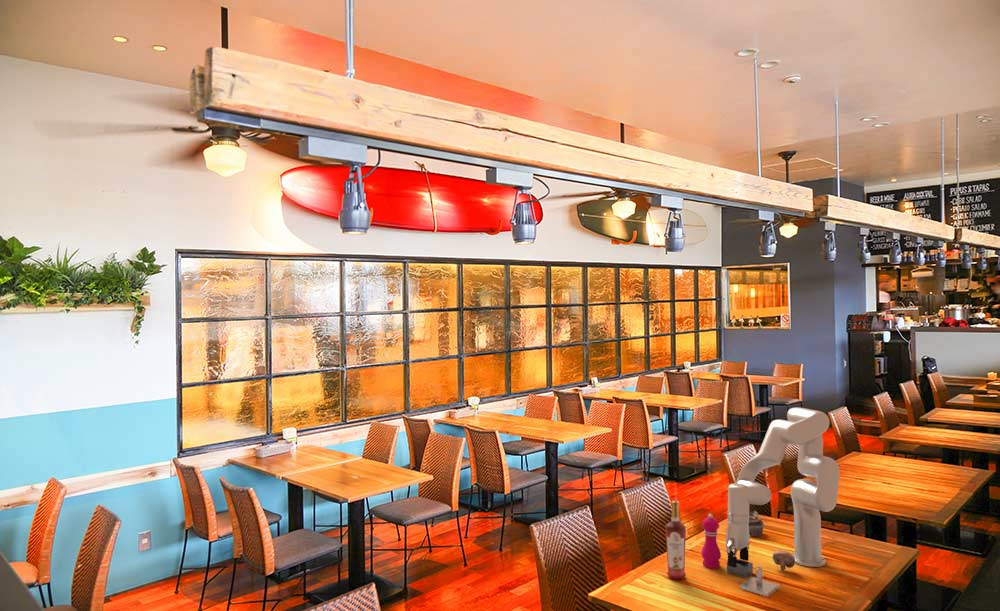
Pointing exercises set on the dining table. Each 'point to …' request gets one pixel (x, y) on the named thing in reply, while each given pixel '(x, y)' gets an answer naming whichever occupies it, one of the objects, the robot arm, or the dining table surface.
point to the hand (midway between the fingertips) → (738, 563)
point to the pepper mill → (711, 543)
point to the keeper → (759, 584)
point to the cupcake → (755, 524)
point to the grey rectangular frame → (741, 568)
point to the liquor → (675, 545)
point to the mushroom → (784, 559)
